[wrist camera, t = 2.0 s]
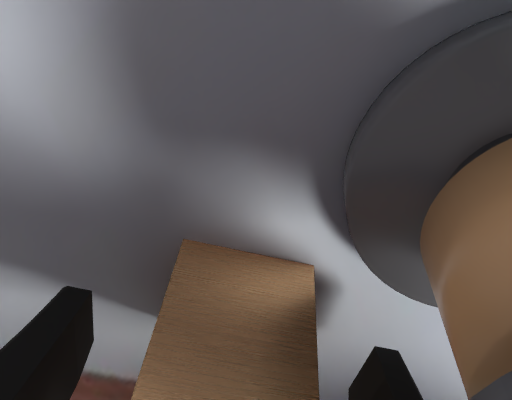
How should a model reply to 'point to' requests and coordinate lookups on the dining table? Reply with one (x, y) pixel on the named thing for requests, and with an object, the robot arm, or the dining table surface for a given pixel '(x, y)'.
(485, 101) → the spool
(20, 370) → the robot arm
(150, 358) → the wooden block
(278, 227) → the dining table surface
